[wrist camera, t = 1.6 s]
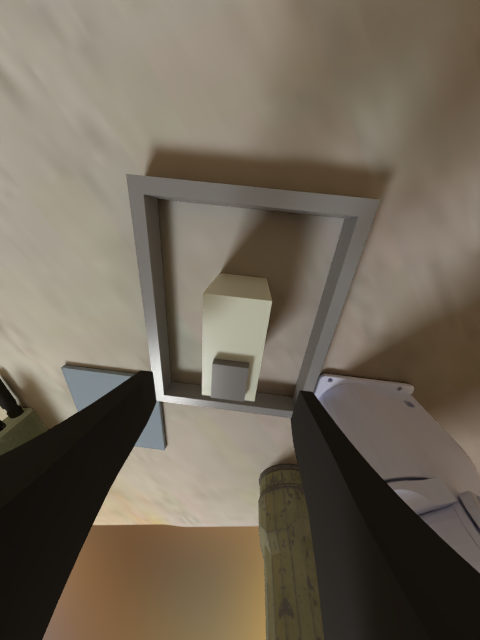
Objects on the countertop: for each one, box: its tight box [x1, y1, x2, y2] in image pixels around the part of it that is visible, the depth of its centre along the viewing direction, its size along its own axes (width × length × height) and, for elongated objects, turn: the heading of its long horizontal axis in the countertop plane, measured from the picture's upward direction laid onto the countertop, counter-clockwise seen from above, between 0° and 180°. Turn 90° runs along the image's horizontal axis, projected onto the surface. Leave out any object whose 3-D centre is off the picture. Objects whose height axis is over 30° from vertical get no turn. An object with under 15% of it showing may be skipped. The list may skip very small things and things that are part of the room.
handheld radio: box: [0, 379, 48, 455], centre depth 26 cm, size 7×3×25 cm
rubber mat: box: [61, 365, 166, 450], centre depth 24 cm, size 11×13×1 cm
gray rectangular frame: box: [126, 174, 380, 418], centre depth 17 cm, size 16×20×2 cm
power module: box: [202, 273, 272, 402], centre depth 15 cm, size 4×8×7 cm, turn 175°
